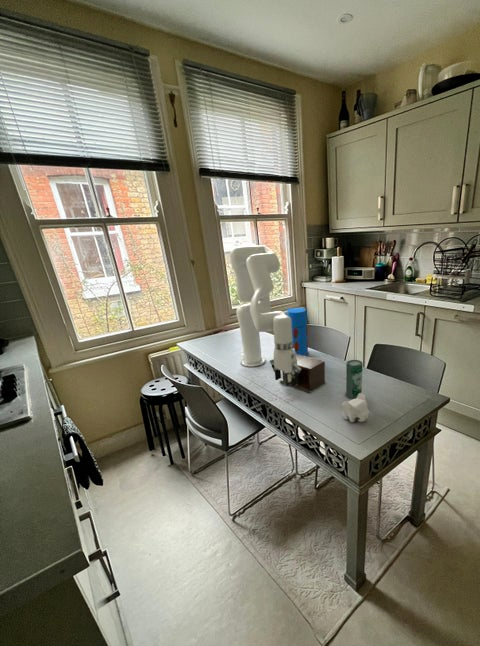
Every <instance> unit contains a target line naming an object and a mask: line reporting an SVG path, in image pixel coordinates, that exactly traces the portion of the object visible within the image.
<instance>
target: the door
mask: <svg viewBox="0 0 480 646" xmlns="http://www.w3.org/2000/svg"><path fill="white" fill-rule="evenodd" d="M296 371H297V370H296ZM293 374H295V373H294V372H293ZM291 378H292V376H291V374H290V373H288V372H285V371H284V379H285V384H284V386H285V387H289V386H288V385H289V384H291ZM297 382H298V381H297ZM296 385H298V383H297V384H296Z"/></svg>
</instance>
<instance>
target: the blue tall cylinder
mask: <svg viewBox="0 0 480 646" xmlns="http://www.w3.org/2000/svg"><path fill="white" fill-rule="evenodd" d="M307 312H308V311H307V309H306V308H305V307H294V308H293V307H292V308H289V309H287V310H286V315H287V316H289V317H290V318H291V324H292V342H293V345H294V349H295V353H296V354H299V355H303V356H307V355H308V353H309V339H308V337H309V336H308V313H307Z"/></svg>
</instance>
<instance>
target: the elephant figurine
mask: <svg viewBox="0 0 480 646" xmlns="http://www.w3.org/2000/svg"><path fill="white" fill-rule="evenodd" d="M365 395H366V394H364V393H362V392H361V393H359V394H358V396H357V398H356V399H354V398H353V399H351V400H349V401H347V400H346V401H343V402H342V403H341V405H340V408H341V411H342V415H343V416H342V417H343V418H344V419H345V420H349V422H350V423H354V422H356V419H357V420H358V422H360V423H363V422H366V420H367V419H369V415H371V417H372V418H373V417H374V416H373V414H372V412H371V411H370V410H369V409H368V402H367V398H366V396H365Z"/></svg>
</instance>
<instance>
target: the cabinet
mask: <svg viewBox="0 0 480 646" xmlns="http://www.w3.org/2000/svg"><path fill="white" fill-rule="evenodd" d="M296 358H297V365H298V366H299V367H300V368H301V372H300V374H299V375H298V376H297V381H298V385H294V386H292V384H289V385H288V386H287V387H290V388H293V389H297V390H300V391H302V392H305V393H307V394H311V393H312V392H314V391H315V390H317V389H318V388H320V387H322V386H323V385H325V384H326V361H325V360H321V359H318V358H313V357H310V356H307V355H305V356H303V355H299V354H296ZM281 376H282V379H279V381H280V384H281V385H285V379H284V371H282V370H281Z"/></svg>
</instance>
